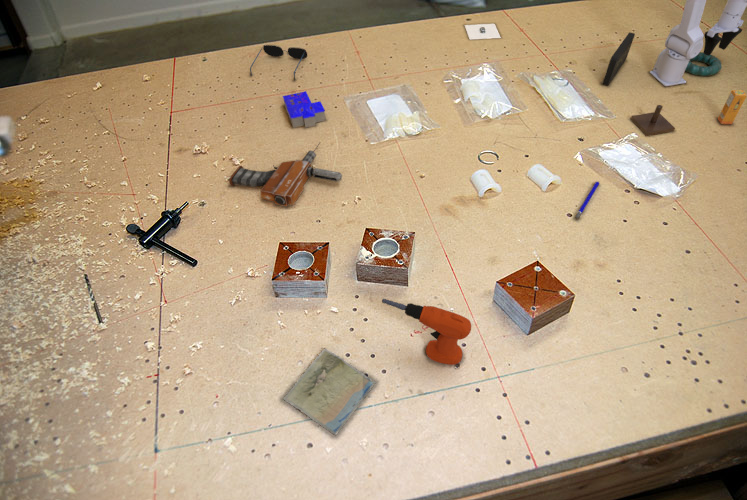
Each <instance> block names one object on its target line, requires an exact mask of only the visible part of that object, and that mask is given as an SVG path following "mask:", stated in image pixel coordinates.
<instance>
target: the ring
mask: <svg viewBox="0 0 747 500" xmlns="http://www.w3.org/2000/svg"><path fill="white" fill-rule="evenodd" d="M693 61H694V62H700V63H701V62H702V63H704V64H707V65H708V66H705V65H698V64H696V63H693ZM722 65H723V64H722V61H721V60H720V59H719V58H718V57H716V55H713V54H712V53H711V54H710V55H709V56H708V55H706V54H704V51H700V52H699V54H698V55H697V56H695V57H694V58H692V59H690V61H689V63H688V65H687V67H686V70H685V72H686V73H689V74H691V75H694V76H700V77H709V76H714V75H716V74H717V73H719V72H720V71H721V70H722V67H723V66H722Z"/></svg>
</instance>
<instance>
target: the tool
mask: <svg viewBox="0 0 747 500" xmlns="http://www.w3.org/2000/svg"><path fill="white" fill-rule="evenodd" d="M320 144H321V141H319V143H318V144H317V146H316V147H315V148H314V150H308V151H307V152H306V154H305V156H304V157H303V158H302V160H301V159H295V160H289V161H282V162H281V163H280V164H279V166H278V167H276V166H275V164H273V169H272V170H265V171H264V170H252V169H248V168H244V167H243V166H242V165H239V166H238V167H237V168H236V169H235V170H234V172H233V173H232V174H231V175H230V177H229V178H228V183H229V185H230V187H234V186H235V185H237V186H244V187H249V188H257V187H258V188H259V187H262V188H261V190H260V196H261V199H262V200H264V201H269V202H273V203H274V204H275V205H277V206H282V207H288V206H294V204H295V203H296V201H297V200H298V199H299V197H300V195H301V194H302V193H303V191H304V190H305V186H304V185H305V184H306V182H307V181H308V180H309V178H312V177H313V178H316V179H320V180H326V181H330V182H331V181H332V182H338V183H339V182H340V181H342V178H343V175H342V173H341V172H339V171H335V170H334V171H333V170H329V169H322V168H317V167H315V168H314V167H313V166H312V163H313V162H314V160H315V158H316V157H317V154H316V152H315V151H316V150H317V149H318V148H319V145H320Z"/></svg>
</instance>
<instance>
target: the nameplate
mask: <svg viewBox="0 0 747 500" xmlns="http://www.w3.org/2000/svg"><path fill="white" fill-rule="evenodd" d="M635 35H636V33H634V32H631V31H629V32H627V35H626V36H625V38H624V39H623V40H622V41H621V43H620V44H619V45H618V47H617V49H616V50H615V51H614V53H613V54H612V56H611V57H610V59H609V62H608V66H607V69H606V71H605V75H604V78H603V80H602V85H604V86H610V84H611V82H612V81H613V80H614V78H615V77H616V75H617V74H618V72H619V71H620V70H621V68H622V67H623V66H624V64H625V62H626V60H627V58H628V56H629V53H630V50H631V47H632V44H633V42H634V39H635Z"/></svg>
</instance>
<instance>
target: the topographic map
mask: <svg viewBox="0 0 747 500" xmlns="http://www.w3.org/2000/svg"><path fill="white" fill-rule="evenodd" d="M375 384H377V382H376V381H375V380H373V379H372V378H371V377H369V376H368V375H366V374H364V373H363V372H362V371H361V370H359V369H358V368H356V367H355V366H353V365H351V364H350V363H349V362H347V361H346V360H345V359H344V358H342V357H340V356H339V355H337V354H335V353H334V352H332V351H330V350H329V349H327V348H326V347H324V348H323V349H322V351H321V352H320V353H319V354H318V355H317V357H316V358H315V359H314V360H313V361H312V362H311V364H310V365H309V367H308V368H306V370H305V371H304V372H303V373H302V374H301V376H300V377H299V378H298V379H297V381H296V382H295V384H293V386H292V387H291V389H290V390H289V391H288V392H287V393H286V395H285V396H284V397H283V398H282V399H283V401H285V402H287V403H288V404H289V405H291V406H292V407H294V408H296V409H297V410H300V411H301V413H303V414H304V415H306V416H307V417H308V418H310V419H311V420H313V421H314V422H315V423H316V424H319V425H320V426H321V427H322V428H324V429H325V430H327V431H328V432H330V433H331V434H333V435H335V436H337V435H338V433H339V432H340V431H341V430H342V428H343V427H344V425H345V424H346V423H347V422H348V420H349V419H350V417H352V415H353V414H354V412H355V411H356V410H357V409H358V407H359V406H360V405H361V404H362V402H363V400H364V399H365V398H366V397H367V396H368V394H369V393H370V392H371V390H372V389H373V387H374V386H375Z"/></svg>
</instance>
